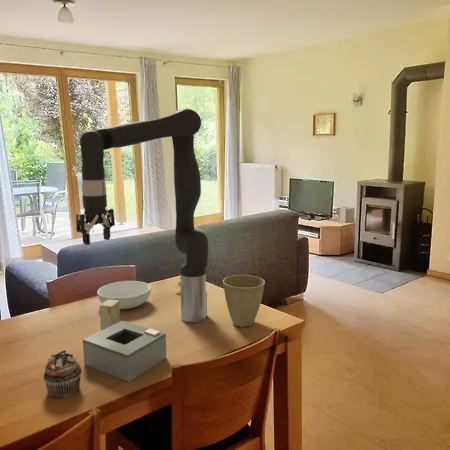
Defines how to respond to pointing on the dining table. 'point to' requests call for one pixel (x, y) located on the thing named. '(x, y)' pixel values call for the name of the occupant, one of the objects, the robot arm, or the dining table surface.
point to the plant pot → (243, 298)
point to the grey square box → (124, 350)
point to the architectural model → (177, 284)
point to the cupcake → (62, 375)
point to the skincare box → (109, 313)
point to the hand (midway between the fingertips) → (97, 242)
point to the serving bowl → (125, 293)
